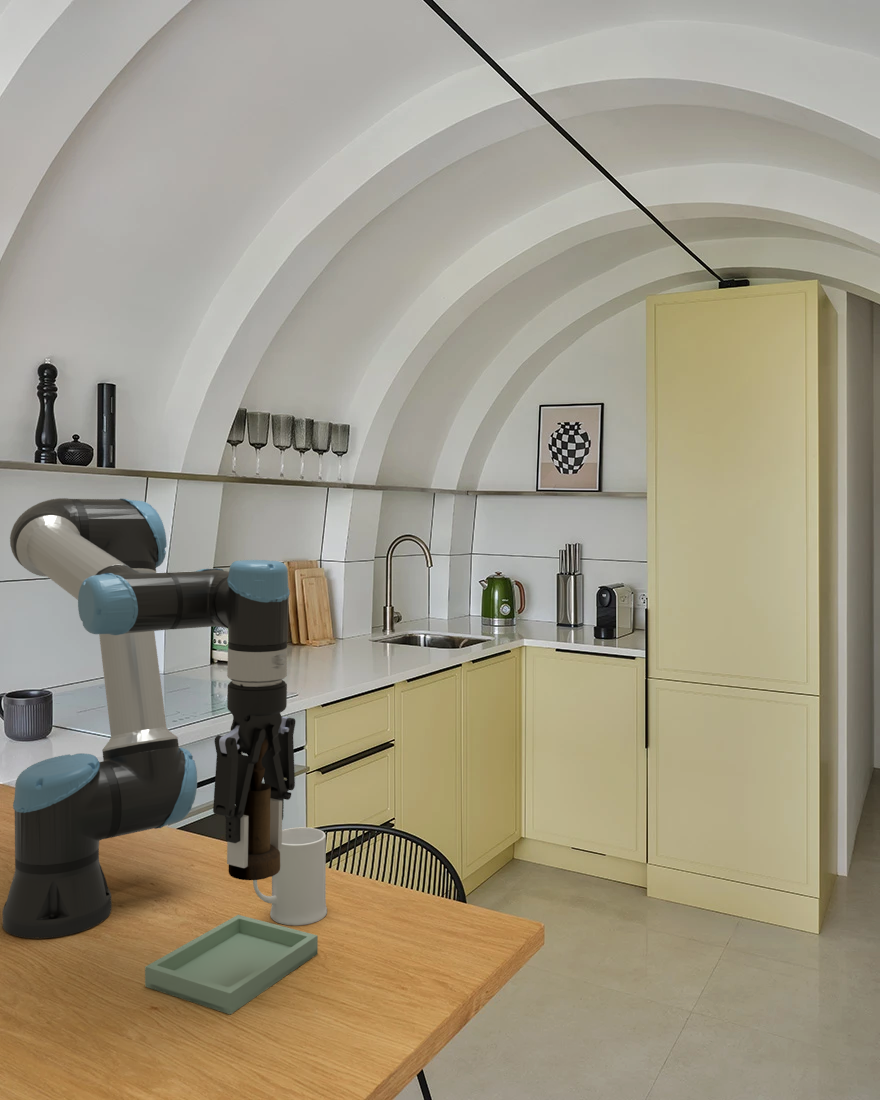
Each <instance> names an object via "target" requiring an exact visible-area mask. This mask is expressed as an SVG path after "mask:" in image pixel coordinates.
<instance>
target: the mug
mask: <svg viewBox="0 0 880 1100" xmlns="http://www.w3.org/2000/svg"><path fill="white" fill-rule="evenodd" d="M326 840H327V839H326V833H325V832H324V831H323V830H321V829H319V828H312V827H308V826H307V827H299V826H298V827H291V828H285V829H282V849H280V850H279V851H280V871H279V872H278V873H277V874H276V875H274V876H272V877H271V895H270V896H269V895H265V894H263V893H262V892H261V891H260V889H259V887H258V880H252V885H253V889H254V890H253V891H254V892H255V893H256V895H257V897H258V898H259V899H260V900H261V901H263V902H265V903H267V904H271V909H270V912H269V914H270V915H269V916H270V918H271V920H273V921H274V922H276V923H277V924H281V925H283V926H284V925H285V926H296V927H297V926H306V925H311V924H313V923H314V924H315V923H317V922H319V921H321V920H322V919H324V918H325V917H326V916H327V914H328V908H327V902H326V901H327V900H326V898H327V897H326V896H327V895H326V894H327V893H326V887H327V886H326V885H327V884H326V882H327V881H326V878H327V876H326V868H327V867H326V857H327V856H326V851H327V850H326V849H327V847H326V846H327V845H326Z"/></svg>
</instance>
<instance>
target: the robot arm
mask: <svg viewBox="0 0 880 1100" xmlns="http://www.w3.org/2000/svg"><path fill="white" fill-rule="evenodd" d="M164 526H165V525H164V522H163V520H162V518H161V516H160V514H159V513H158V511H157V509H155V508H154V507H153V505H151V504H150V503H148V502H146V501H143V500H134V499H133V500H132V499H127V498H119V499H118V498H117V499H114V498H112V499H109V498H108V499H106V498H105V499H104V498H103V499H102V498H101V499H99V498H92V499H91V498H67V497H66V498H65V497H64V498H63V497H62V498H60V497H59V498H53V499H52V498H51V499H48V500H44V501H41V502H39V503H37V504H34V505H33V506H31V507H28V509H27V510H25V511H23V513H22V514H21V515H19V517H18V518H17V519H16V521H15V522H14V524H13V526H12V529H11V531H10V536H9V542H10V549H11V553H12V555H13V556H14V558H15V560H16V561H17V563H18V564H19V565H21V566H22V567H23V568H24V569H26V570H27V571H28V572H30V573H31V574H34V575H35V576H40V577H48V578H49V579H50V580H51V581H52V582H54V583H55V584H56V585H58V586H59V587H60V588H62V589H63V590H64V591H65V592H67V593H68V594H69V595H71V597H74V599H76V600H77V608H78V609H77V610H78V615H79V618H80V621H81V622H82V626H83V628H84V629H85V630H86V631H87V632H88V633H90V634H93V635H99V637H98V638H99V644H100V651H101V661H102V663H101V664H102V671H103V672H102V673H103V678H104V679H103V680H104V686H105V688H104V689H105V696H106V704H107V705H106V706H107V713H108V723H109V724H108V725H109V731H110V732H109V733H110V739H109V741H107V743H106V745H104V746H103V749H102V752H101V753H102V759H103V761H99V759H98V757H97V756H95V755H93V754H91V753H76V754H64V755H63V754H62V755H57V756H53V757H50V758H47V759H44V760H41V761H39V762H36V763H34V764H31V765H30V766H28V767H26V768H25V769H24V770H22V771H21V772H20V773H19V774H18V776H17V778H16V780H15V785H14V786H15V787H14V788H15V789H14V796H13V797H14V798H13V799H14V800H13V802H12V803H13V804H12V808H13V811H14V865H15V866H14V874H13V878H12V881H11V885H10V888H9V891H8V894H7V898H6V901H5V903H4V905H3V907H2V928H3V930H4V931H5V932H6V933H8V934H9V935H13V936H15V937H20V938H25V939H26V938H27V939H48V938H49V939H51V938H58V937H64V936H65V937H66V936H69V935H74V934H77V933H81V932H84V931H86V930H89V929H92V928H94V927H95V926H97V925H99V924H101V923H103V922H104V921H105V920H106V919H107V918H108V917H109V916H110V915H111V914H112V913H111V912H112V893H111V890H110V889H109V887H108V882H107V879H106V876H105V874H104V870H103V868H102V866H101V863H100V841H102V840H106V839H110V838H111V839H112V838H116V837H117V838H118V837H120V836H125V835H126V836H127V835H130V834H134V833H138V832H145V831H149V830H152V829H155V830H156V829H162V828H163V827H165V826H169V825H173V824H175V823H179V822H181V821H182V820H184V819H185V818H186V817H187V816H188V815H189V813H190V812H191V810H192V807H193V805H194V803H195V799H196V795H197V790H198V772H197V771H198V769H197V765H196V762H195V760H194V759H193V758H194V756H193V755H192V752H190V750H188V749H187V748H183V747H181V746H179V740H178V739H179V738H178V736H177V735H176V734H174V733H173V732H172V731H170V730H169V729H168V728H167V722H166V712H165V706H164V698H163V690H162V688H163V687H162V682H161V681H162V680H161V674H160V665H159V656H158V650H157V641H156V635H155V632H157V631H167V630H168V631H169V630H180V629H181V630H182V629H183V630H184V629H197V628H208V627H221V628H225V629H228V631H227V633H228V634H227V637H228V639H227V641H228V643H227V645H228V647H227V669H226V670H227V671H226V672H227V673H226V676H227V678H228V679H230V682H229V683H228V684H227V698H226V699H227V710H228V711H229V712H230V713H231V715H232V722H231V726H230V730H229V732H228V733H226V734H225V735H219V734H217V735H216V736H215V737H214V747H215V751H216V752H215V754H216V762H215V776H214V777H215V779H214V788H213V789H214V791H213V806H212V807H213V809H212V810H213V812H212V813H214V814H215V815H219V816H223V817H225V840H226V842H227V843H226V844H227V846H226V848H227V849H226V851H227V852H226V854H227V855H226V864H227V865H228V866H229V865H233V866H237V867H241V868H245V867H247V866H248V816H247V815H243V814H244V810H245V805H246V801H247V796H248V791H249V787H250V782H251V777H252V772H253V768H254V764H255V763H257V762H258V760H259V755H260V750H261V745H262V743H263V742H264V739H265V738H266V739H267V741H268V749H267V751H266V753H265V755H264V756H263V758H262V766H263V767H264V768H265V773H264V777H263V781H264V782H263V783H265V784H268V785H270V786H271V797H270V844H272V845H273V846H274V847H275V848H277V849H278V850H280V849H282V830H283V819H284V800H286V801H288V800H290V799H291V797H292V792H289V791H294V789H295V787H296V783H295V782H296V777H295V775H296V774H295V756H294V755H295V750H294V733H295V732H294V731H295V728H296V727H295V726H296V719H295V718H294V717H288V716H282V715H281V714H282V713H283V712H284V711H285V710H286V708H287V705H288V704H287V703H288V702H287V701H288V699H287V698H288V694H287V693H288V685H287V682H286V681H285V678H286V677H287V676H288V672H287V671H288V669H287V668H288V666H287V665H288V658H287V657H288V655H287V654H288V653H287V652H288V651H287V649H288V640H289V639H288V638H289V636H288V633H289V631H288V630H289V606H290V604H289V603H290V602H289V601H290V599H289V598H290V594H291V593H290V589H289V573H288V571H289V570H288V567H287V565H286V564H285V563H283V562H282V561H280V560H267V559H243V560H241V559H240V560H235V561H232V563H231V564H230V567H229V571H228V570H224V569H222V568H217V567H215V568H202V569H198V570H196V571H195V570H194V571H178V572H176V571H174V572H170V571H169V572H157V568H158V567H160V566H161V565H163V563H164V562H165V561H164V560H165V558H166V554H167V551H166V548H167V547H168V546H167V545H168V544H167V533H166V530H165V527H164ZM247 754H250V756H248V755H247Z"/></svg>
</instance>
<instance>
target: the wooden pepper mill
mask: <svg viewBox="0 0 880 1100" xmlns="http://www.w3.org/2000/svg"><path fill="white" fill-rule="evenodd" d="M267 749H268V741H267V739H266V738H265V739H264V742H263V743H262V745H261V750H260V755H259V760H258V762H257V763H255V764H254V768H253V772H252V777H251V782H250V787H249V791H248V796H247V801H246V805H245V810H244V814H243V815H247V816H248V866H247V867H245V868H241V867H237V866H233V865H229V864H228V875H229V876H230V877H232V878H234V879H236V880H242V881H253V880H257V881H258V880H264V879H267V878H272V876H274V875H276V874H277V873H278V872H279V871H280V851H279V850H278V849H277V848H275V847H274V846H273V845H272V844H270V797H271V786H270V785H268V784H265V782H263V781H264V778H263V777H264V773H265V768H264V767H263V766H262V758H263V756H264V755H265V753H266V751H267ZM246 755H247V756H250V754H246Z"/></svg>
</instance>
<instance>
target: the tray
mask: <svg viewBox="0 0 880 1100" xmlns="http://www.w3.org/2000/svg"><path fill="white" fill-rule="evenodd" d="M318 946H319V945H318V935H317V934H314V933H309V932H306V931H301V930H298V929H294V928H291V927H287V926H284V925H279V924H275V923H272V922H268V921H264V920H259V919H256V918H253V917H249V916H244V915H241V914H237V915H235V916H233V917H232V918H230V919H228V920H226V921H224V922H222V923H220V924H219V925H217V926H215V927H214V928H212V929H209V930H208V931H207V932H205V933H203V934H201V935H200V936H197V937H195V938H193V939H192V940H190V941H188V942H186V943H185V944H183V945H181V946H180V947H178V948H176V949H174V950H172V951H171V952H169V953H167V954H166V955H163V956H162V957H160V958H158V959H156V960H155V961H153V962H151V963H149V964H147V965H146V966H145V967H144V979H145V980H144V987H145V988H148V989H152V990H154V991H157V992H160V993H163V994H166V995H169V996H172V997H176V998H178V999H180V1000H181V999H182V1000H185V1001H188V1002H191V1003H194V1004H197V1005H199V1006H203V1007H206V1008H208V1009H210V1010H211V1009H212V1010H215V1011H218V1012H221V1013H224V1014H227V1015H232V1014H233V1013H235V1012H236V1011H237V1010H239V1009H240V1008H242V1007H243V1006H245V1005H246V1004H248V1003H249V1002H250V1001H252V1000H254V999H255V998H256V997H258V996H259V995H261V994H263V992H265V991H267V990H268V989H269V988H271V987H272V986H274V985H275V984H276V983H278V982H280V981H281V980H282V979H283V977H284V978H285V977H287V976H288V975H289V974H291V973H292V972H294V971H295V970H297V969H298V968H299V966H300V967H301V966H302V965H304V964H305V963H307V962H308V961H309V960H311V959H312V958H314V957H316V956H317V955H318V948H319V947H318ZM290 972H291V973H290ZM286 975H287V976H286Z"/></svg>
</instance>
